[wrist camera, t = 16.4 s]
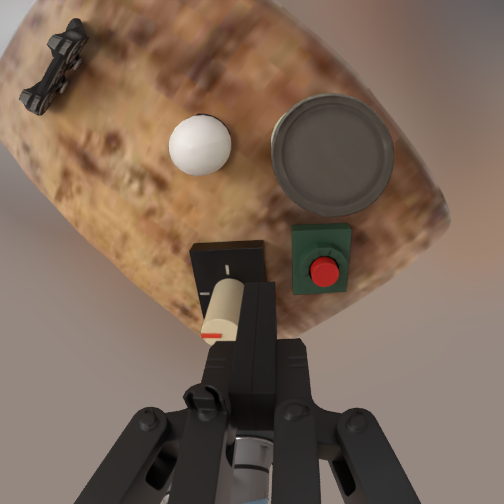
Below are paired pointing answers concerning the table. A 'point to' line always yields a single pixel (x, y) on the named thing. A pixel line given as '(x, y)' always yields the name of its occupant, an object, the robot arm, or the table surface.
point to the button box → (319, 255)
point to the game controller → (56, 67)
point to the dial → (223, 312)
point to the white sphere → (200, 145)
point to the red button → (324, 271)
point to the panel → (225, 265)
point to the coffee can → (332, 154)
